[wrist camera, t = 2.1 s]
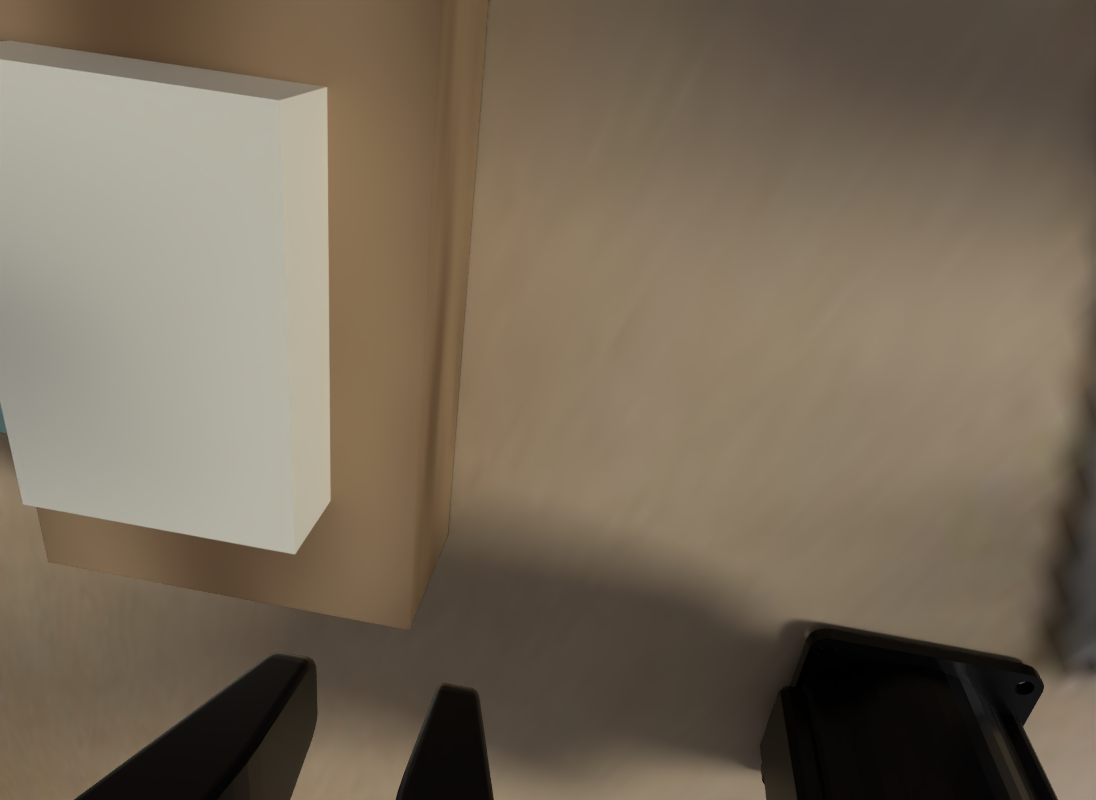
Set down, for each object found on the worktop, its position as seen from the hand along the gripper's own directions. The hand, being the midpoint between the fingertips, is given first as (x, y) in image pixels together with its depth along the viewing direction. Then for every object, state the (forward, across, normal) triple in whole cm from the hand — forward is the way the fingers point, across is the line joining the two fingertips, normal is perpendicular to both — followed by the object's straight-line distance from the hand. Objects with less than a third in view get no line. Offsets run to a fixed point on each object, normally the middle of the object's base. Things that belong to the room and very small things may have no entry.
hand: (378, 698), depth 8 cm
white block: (+9, +7, 0) cm, 11 cm away
